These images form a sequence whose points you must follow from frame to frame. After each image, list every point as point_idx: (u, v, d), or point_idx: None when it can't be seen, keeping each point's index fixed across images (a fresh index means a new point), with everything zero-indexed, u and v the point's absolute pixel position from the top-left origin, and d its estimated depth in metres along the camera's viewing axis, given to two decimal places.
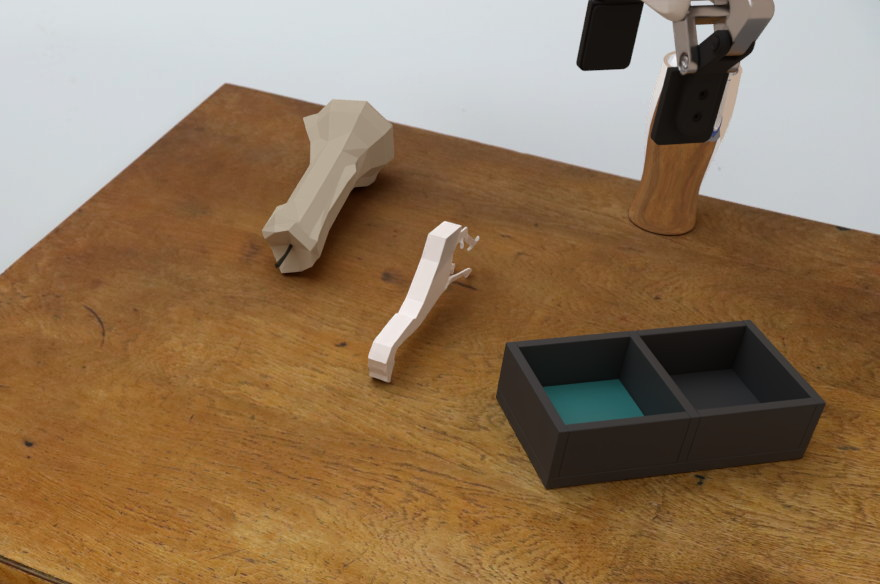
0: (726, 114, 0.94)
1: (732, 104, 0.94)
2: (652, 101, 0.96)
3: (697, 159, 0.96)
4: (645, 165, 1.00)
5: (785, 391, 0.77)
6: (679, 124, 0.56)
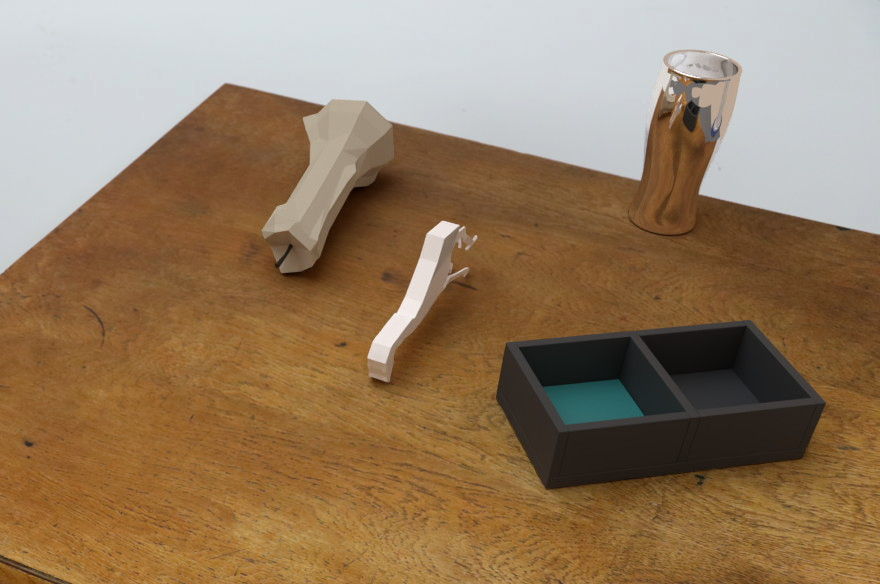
0: (726, 114, 0.94)
1: (732, 104, 0.94)
2: (652, 101, 0.96)
3: (697, 159, 0.96)
4: (645, 165, 1.00)
5: (785, 391, 0.77)
6: None
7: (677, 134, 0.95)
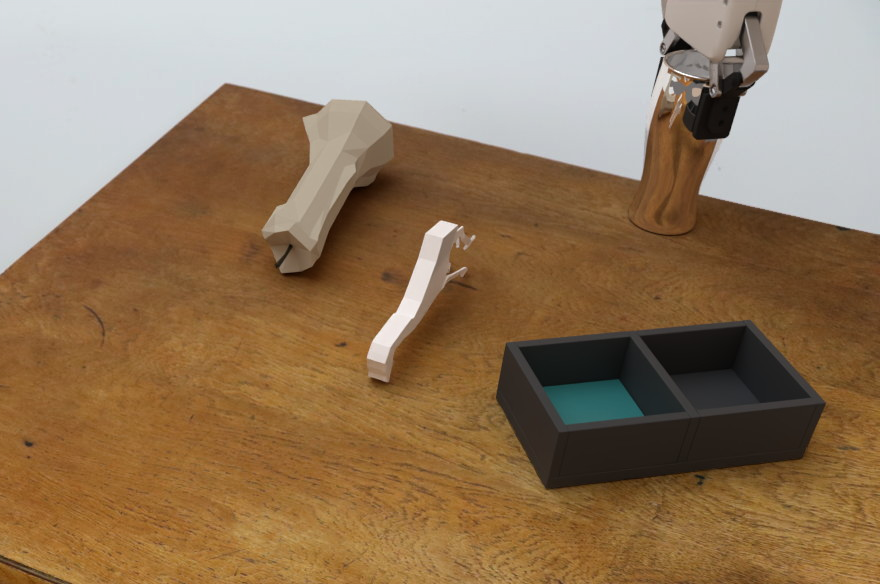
0: None
1: None
2: (652, 101, 0.96)
3: (697, 159, 0.96)
4: (645, 165, 1.00)
5: (785, 391, 0.77)
6: (710, 127, 0.93)
7: (677, 134, 0.95)
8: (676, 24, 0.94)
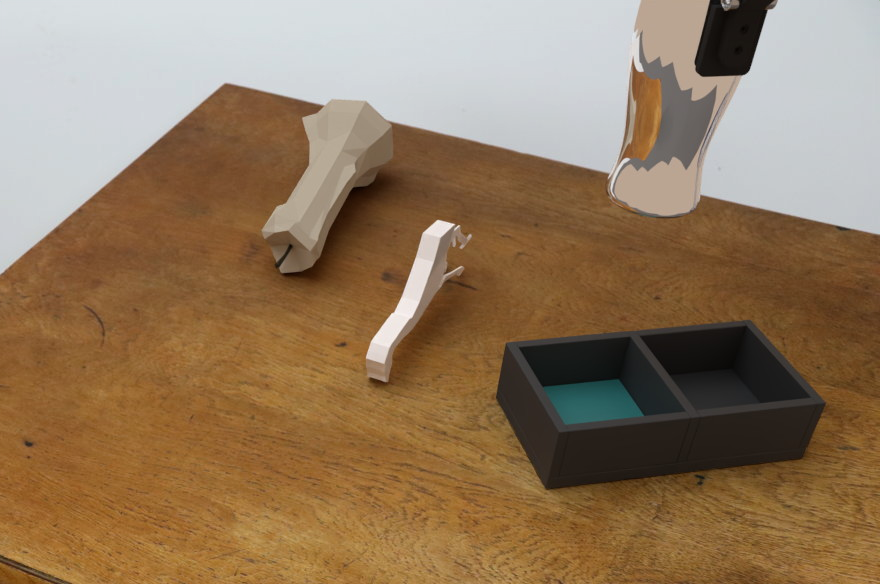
0: None
1: None
2: (637, 22, 0.66)
3: (702, 107, 0.66)
4: (628, 118, 0.70)
5: (785, 391, 0.77)
6: (722, 57, 0.63)
7: (673, 69, 0.65)
8: None
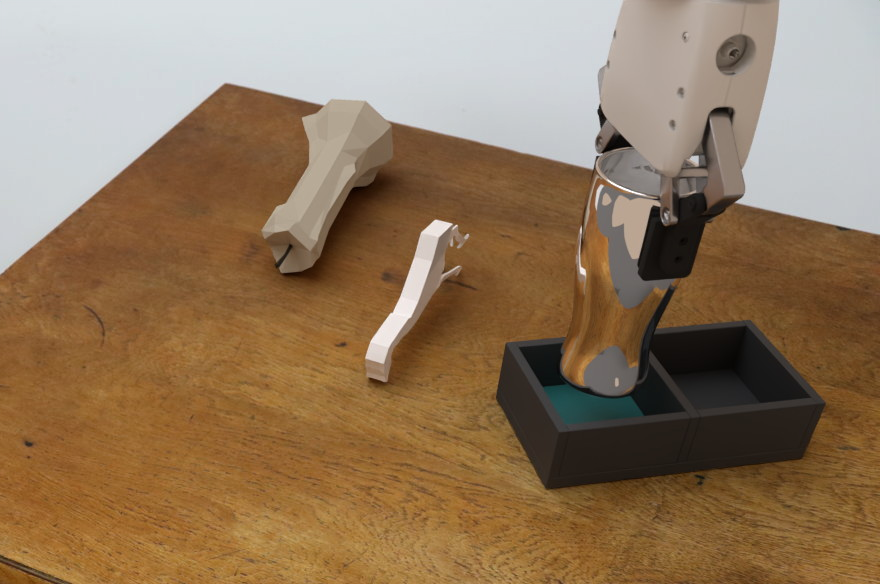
0: None
1: None
2: (582, 220, 0.68)
3: (646, 303, 0.68)
4: (575, 304, 0.71)
5: (785, 391, 0.77)
6: (662, 265, 0.64)
7: (616, 270, 0.66)
8: (615, 115, 0.65)
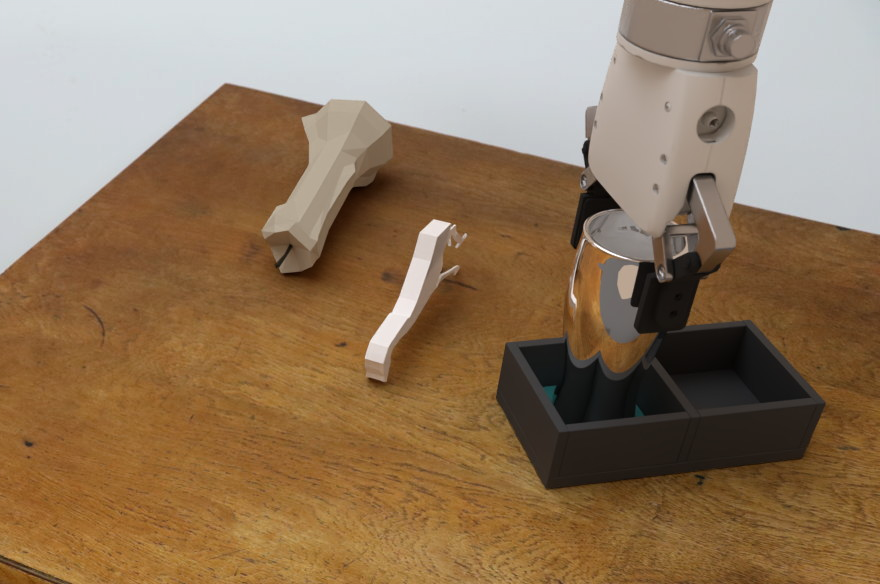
0: None
1: None
2: (570, 279, 0.70)
3: (631, 359, 0.70)
4: (564, 358, 0.74)
5: (785, 391, 0.77)
6: (658, 319, 0.65)
7: (603, 328, 0.69)
8: (602, 173, 0.68)
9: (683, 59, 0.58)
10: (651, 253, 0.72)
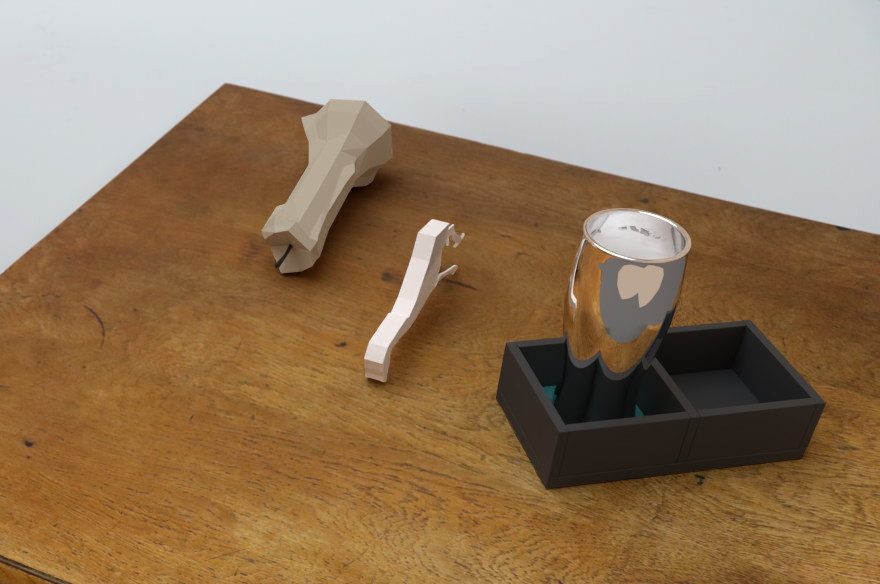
0: (669, 303, 0.68)
1: (677, 289, 0.68)
2: (570, 279, 0.70)
3: (631, 359, 0.70)
4: (564, 358, 0.74)
5: (785, 391, 0.77)
6: None
7: (603, 328, 0.69)
8: None
9: None
10: (651, 253, 0.72)
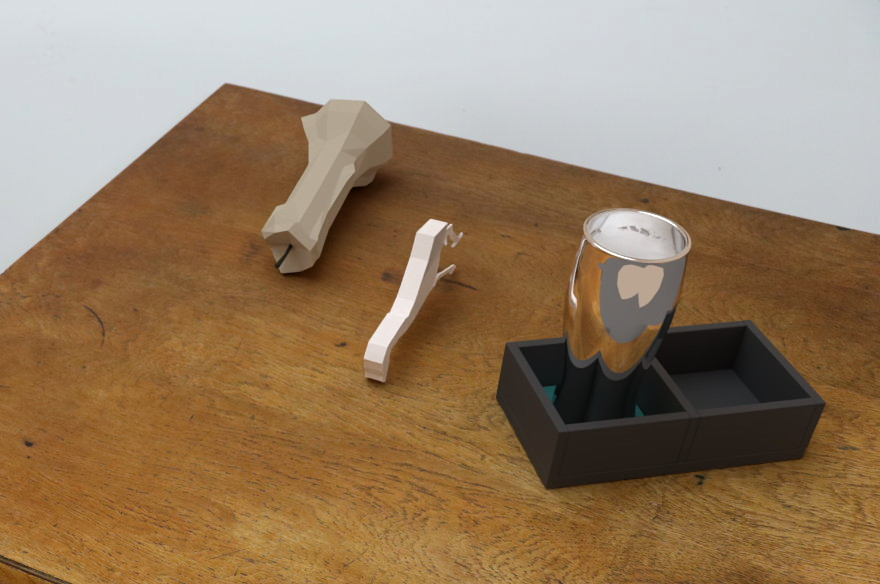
0: (669, 303, 0.68)
1: (677, 289, 0.68)
2: (570, 279, 0.70)
3: (631, 359, 0.70)
4: (564, 358, 0.74)
5: (785, 391, 0.77)
6: None
7: (603, 328, 0.69)
8: None
9: None
10: (651, 253, 0.72)
